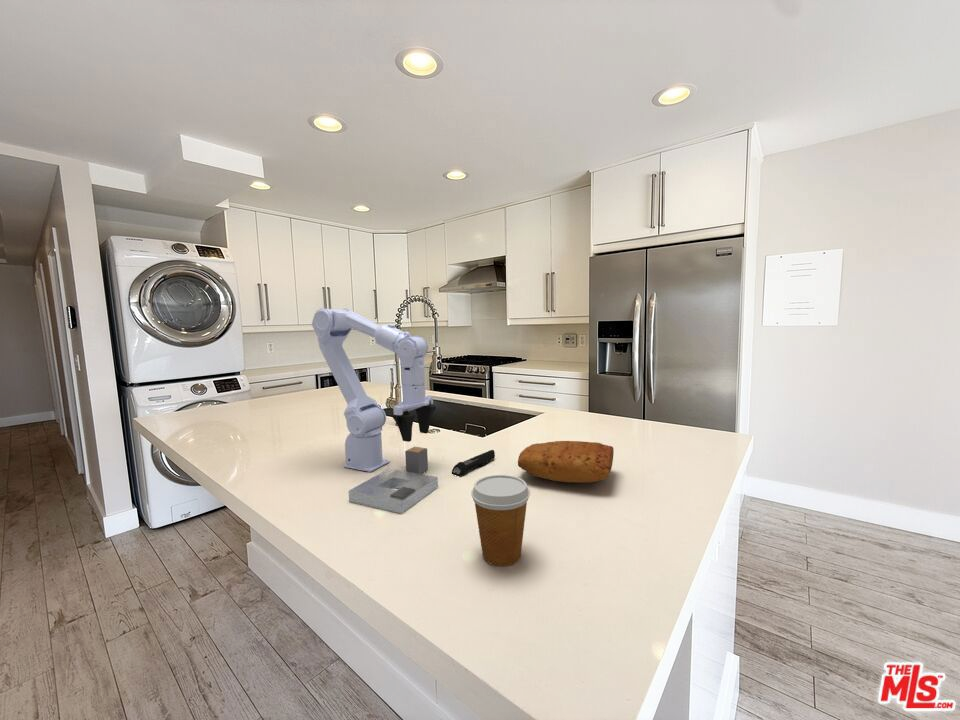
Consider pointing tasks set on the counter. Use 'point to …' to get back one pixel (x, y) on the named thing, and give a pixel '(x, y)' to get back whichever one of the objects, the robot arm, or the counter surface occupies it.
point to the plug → (416, 460)
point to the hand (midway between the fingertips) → (415, 436)
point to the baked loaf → (568, 461)
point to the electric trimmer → (473, 463)
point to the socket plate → (384, 497)
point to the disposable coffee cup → (501, 517)
